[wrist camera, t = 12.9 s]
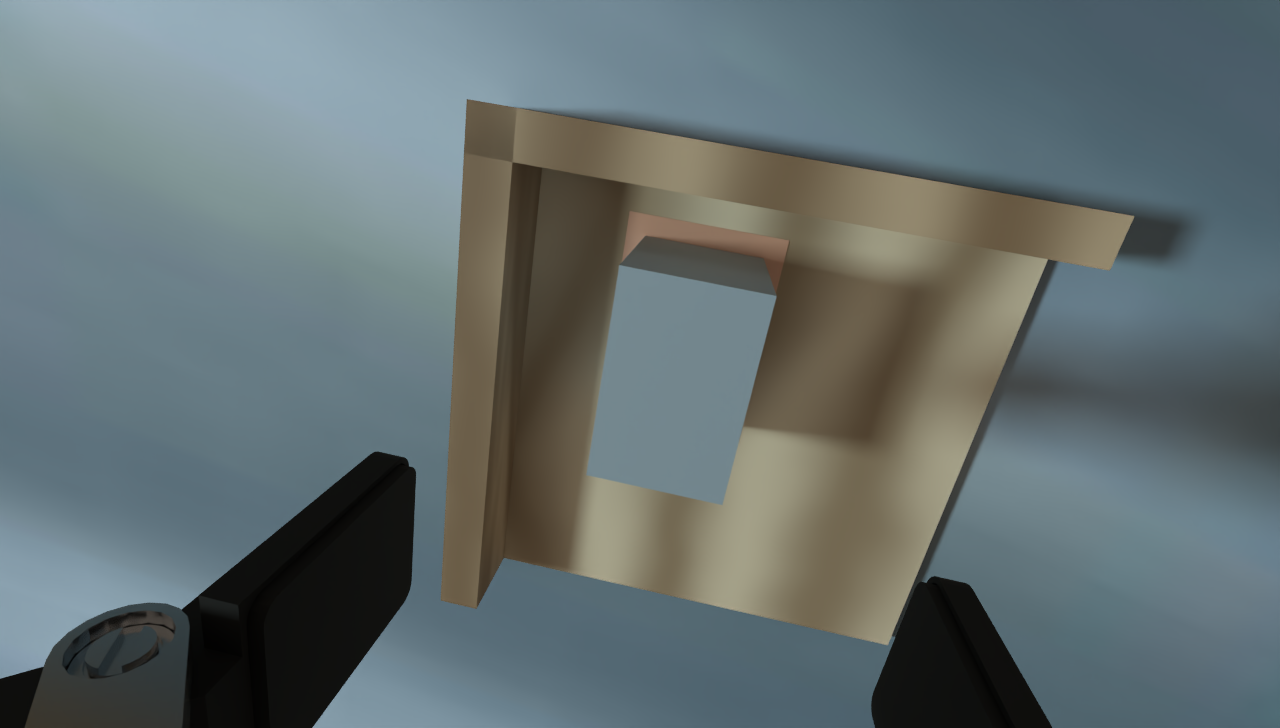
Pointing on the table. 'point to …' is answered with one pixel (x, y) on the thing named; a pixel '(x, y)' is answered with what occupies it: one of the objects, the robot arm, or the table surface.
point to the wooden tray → (786, 377)
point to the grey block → (680, 367)
